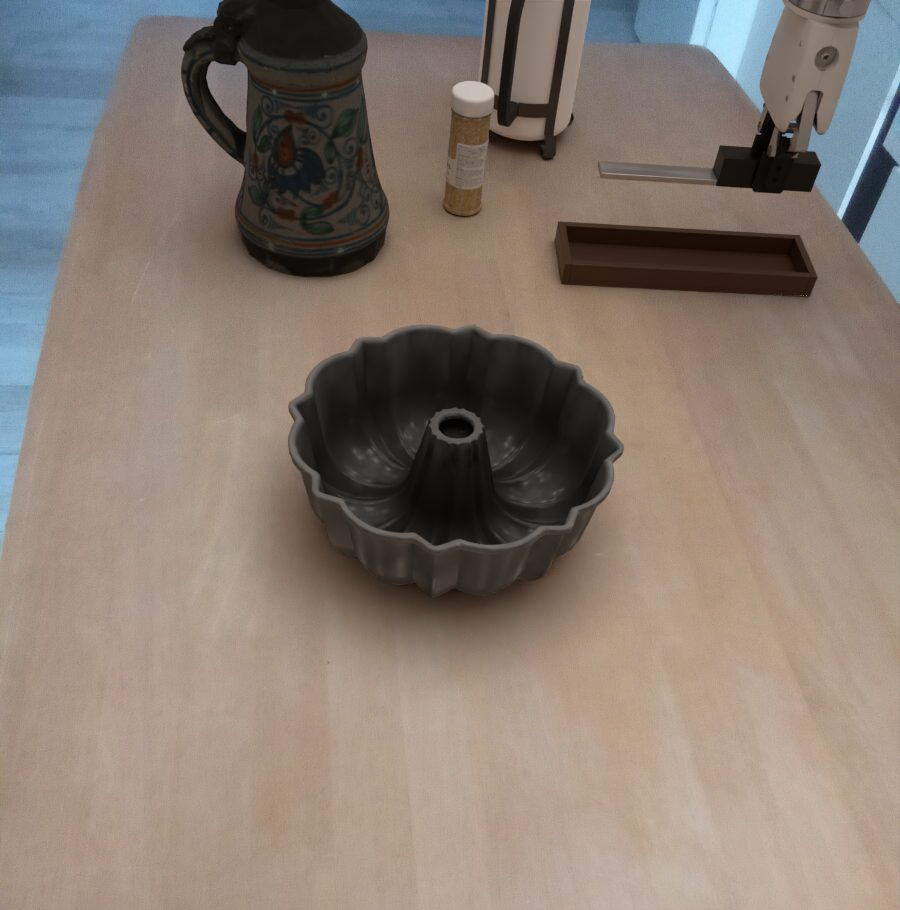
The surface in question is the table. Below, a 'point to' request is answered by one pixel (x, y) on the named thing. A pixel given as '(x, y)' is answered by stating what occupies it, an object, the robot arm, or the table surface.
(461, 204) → the sprinkles bottle
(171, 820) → the table surface
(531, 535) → the bundt pan
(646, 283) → the cutlery tray
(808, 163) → the knife
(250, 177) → the beer stein
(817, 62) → the robot arm
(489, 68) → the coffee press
